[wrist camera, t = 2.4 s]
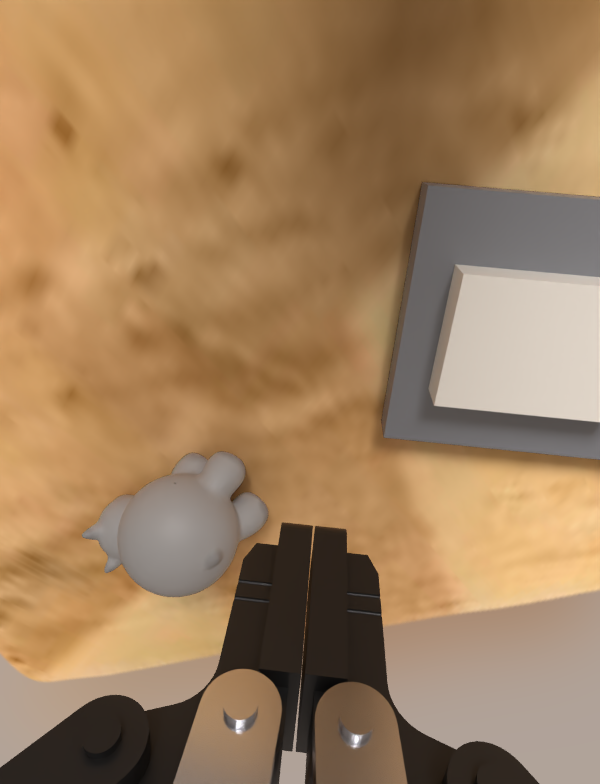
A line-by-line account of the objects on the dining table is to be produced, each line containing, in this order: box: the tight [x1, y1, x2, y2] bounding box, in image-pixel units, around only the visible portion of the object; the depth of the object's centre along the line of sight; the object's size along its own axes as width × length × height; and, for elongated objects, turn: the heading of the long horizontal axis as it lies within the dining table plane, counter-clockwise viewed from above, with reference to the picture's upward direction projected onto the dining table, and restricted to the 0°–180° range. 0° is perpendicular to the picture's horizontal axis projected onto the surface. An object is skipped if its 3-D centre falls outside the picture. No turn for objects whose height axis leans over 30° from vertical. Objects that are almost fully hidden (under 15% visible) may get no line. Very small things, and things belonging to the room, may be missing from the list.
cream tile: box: [428, 264, 600, 422], centre depth 25 cm, size 7×10×2 cm
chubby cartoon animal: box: [82, 451, 268, 597], centre depth 32 cm, size 7×12×8 cm, turn 108°
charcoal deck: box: [381, 182, 600, 460], centre depth 27 cm, size 14×20×2 cm
